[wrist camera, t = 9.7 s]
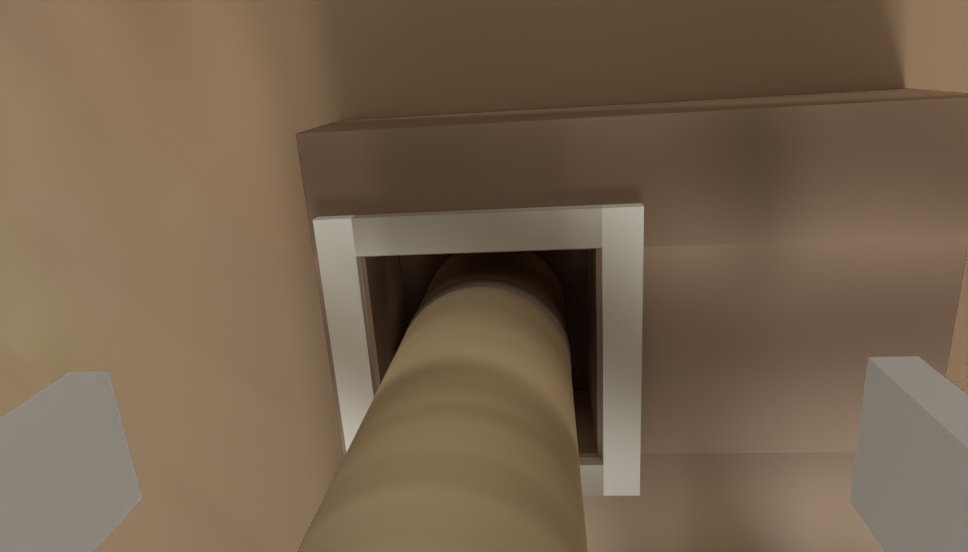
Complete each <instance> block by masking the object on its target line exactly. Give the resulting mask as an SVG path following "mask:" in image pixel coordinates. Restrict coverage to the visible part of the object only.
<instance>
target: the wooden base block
mask: <svg viewBox="0 0 968 552" xmlns="http://www.w3.org/2000/svg"><path fill="white" fill-rule="evenodd" d="M296 138H297V145H298V152H299V159H300V165H301V172H302V179H303V186H304V193H305V199H306V206H307V213H308V220H309V227H310V233H311V240H312V247H313V254H314V261H315V267H316V274H317V281H318V288H319V294H320V301H321V308H322V315H323V322H324V328H325V335H326V342H327V349H328V356H329V362H330V369H331V376H332V383H333V390H334V396H335V403H336V410H337V417H338V424H339V430H340V437H341V444H342V451H343V458H344V457H345V455H346V453H347V451H348V449H349V447H350V445H351V443H352V441H353V439H354V437H355V435H356V433H357V431H358V429H359V427H360V425H361V423H362V420H363V418H364V416H365V414H366V412H367V410H368V408H369V406H370V404H371V402H372V400H373V398H374V396H375V394H376V392H377V390H378V388H379V386H380V384H381V382H382V380H383V378H384V376H385V374H386V372H387V370H388V368H389V366H390V364H391V362H392V360H393V358H394V356H395V354H396V352H397V350H398V348H399V346H400V344H401V342H402V340H403V337H404V335H405V332H406V320H405V311H404V301H403V292H402V282H401V273H400V263H399V256H404V255H432V254H460V253H488V252H517V251H545V250H573V249H587V279H588V356H589V390H573V398H574V409H575V420H576V430H577V441H578V452H579V463H580V474H581V485H582V496H583V507H584V517H585V528H586V539H587V550H588V552H885V551H884V550H883V548H882V547H881V545H880V544H879V543H878V541H877V540H876V538H875V537H874V535H873V534H872V532H871V531H870V530H869V528H868V527H867V525H866V524H865V522H864V521H863V520H862V518H861V517H860V515H859V514H858V512H857V511H856V509H855V508H854V507H853V505H852V504H851V502H850V493H851V486H852V478H853V470H854V463H855V455H856V447H857V440H858V432H859V424H860V417H861V409H862V401H863V394H864V386H865V378H866V371H867V363H868V357H905V356H919V357H920V358H921V359H922V360H924V361H925V362H926V363H928V364H929V365H930V366H931V367H933V368H934V369H935V370H936V371H938V372H939V373H940V374H941V375H943V376H944V377H945V376H946V371H947V365H948V359H949V353H950V348H951V342H952V336H953V330H954V324H955V319H956V313H957V307H958V301H959V295H960V290H961V284H962V278H963V272H964V267H965V261H966V255H967V249H968V93H957V92H945V91H933V90H921V89H908V88H904V89H887V90H869V91H851V92H834V93H816V94H798V95H781V96H763V97H745V98H728V99H710V100H693V101H675V102H657V103H640V104H622V105H604V106H587V107H569V108H551V109H534V110H516V111H499V112H481V113H463V114H446V115H428V116H410V117H393V118H375V119H357V120H340V121H337V122H333V123H330V124H327V125H323V126H320V127H317V128H314V129H310V130H307V131H304V132H301V133H297V134H296Z"/></svg>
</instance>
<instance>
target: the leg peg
mask: <svg viewBox="0 0 968 552" xmlns="http://www.w3.org/2000/svg"><path fill="white" fill-rule="evenodd" d="M571 367H572V366H571V355H570V345H569V341H568V333H567V322H566V311H565V300H564V294H563V290H562V287H561V285H560V282H559V280H558V278H557V276H556V275H555V273H554V272H553V270H552V269H551V268H550V266H549V265H548V264H547V263H546V262H545V261H544V260H543V259H542V258H540V257H539V256H538V255H536V254H535V253H533V252H532V251H517V252H488V253H460V254H453V255H452V256H451V257H449V258H448V259H447V260H446V261H445V262H444V263H443V264H442V266H441V267H440V268H439V269H438V271H437V273H436V274H435V276H434V278H433V280H432V282H431V284H430V286H429V288H428V290H427V292H426V294H425V296H424V298H423V300H422V302H421V304H420V306H419V308H418V310H417V312H416V313H415V315H414V317H413V318H412V320H411V322H410V324H409V326H408V328H407V330H406V332H405V335H404V337H403V340H402V342H401V344H400V346H399V348H398V350H397V352H396V354H395V356H394V358H393V360H392V362H391V364H390V366H389V368H388V370H387V372H386V374H385V376H384V378H383V380H382V382H381V384H380V386H379V388H378V390H377V392H376V394H375V396H374V398H373V400H372V402H371V404H370V406H369V408H368V410H367V412H366V414H365V416H364V418H363V420H362V423H361V425H360V427H359V429H358V431H357V433H356V435H355V437H354V439H353V441H352V443H351V445H350V447H349V449H348V451H347V453H346V455H345V457H344V459H343V461H342V463H341V465H340V467H339V469H338V471H337V473H336V475H335V477H334V479H333V481H332V483H331V485H330V487H329V489H328V491H327V493H326V495H325V497H324V499H323V501H322V503H321V505H320V507H319V509H318V511H317V513H316V515H315V517H314V519H313V521H312V523H311V525H310V527H309V529H308V531H307V533H306V535H305V537H304V539H303V541H302V543H301V545H300V547H299V549H298V551H297V552H588V550H587V539H586V528H585V517H584V507H583V496H582V485H581V474H580V463H579V452H578V441H577V430H576V420H575V409H574V398H573V387H572V376H571Z"/></svg>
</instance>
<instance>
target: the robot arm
mask: <svg viewBox="0 0 968 552" xmlns="http://www.w3.org/2000/svg"><path fill="white" fill-rule="evenodd" d="M141 500H142V496H141V492H140V489H139V485H138V481H137V477H136V473H135V469H134V466H133V462H132V458H131V454H130V450H129V447H128V443H127V439H126V435H125V431H124V427H123V424H122V420H121V416H120V412H119V408H118V404H117V401H116V397H115V393H114V389H113V385H112V382H111V378H110V374H109V371H85V372H68V373H67V374H65V375H64V376H62V377H61V378H59V379H58V380H56V381H55V382H53V383H52V384H50V385H49V386H47V387H46V388H44V389H43V390H41V391H40V392H38V393H37V394H35V395H34V396H32V397H31V398H29V399H28V400H26V401H25V402H23V403H21V404H20V405H18V406H17V407H15V408H14V409H12V410H11V411H9V412H8V413H6V414H5V415H3V416H2V417H0V552H95V550H96V549H97V548H98V547H99V546H100V545H101V544H102V543H103V542H104V541H105V539H106V538H107V537H108V536H109V535H110V534H111V533H112V532H113V531H114V530H115V528H116V527H117V526H118V525H119V524H120V523H121V522H122V521H123V520H124V519H125V518H126V516H127V515H128V514H129V513H130V512H131V511H132V510H133V509H134V508H135V507H136V505H137V504H138V503H139V502H140V501H141ZM850 502H851V504H852V505H853V507H854V508H855V509H856V511H857V512H858V514H859V515H860V517H861V518H862V520H863V521H864V522H865V524H866V525H867V527H868V528H869V530H870V531H871V532H872V534H873V535H874V537H875V538H876V540H877V541H878V543H879V544H880V545H881V547H882V548H883V550H884V551H885V552H968V395H967V394H966V393H964V392H963V391H962V390H960V389H959V388H958V387H957V386H955V385H954V384H953V383H952V382H950V381H949V380H948V379H947V378H945V377H944V376H943V375H941V374H940V373H939V372H938V371H936V370H935V369H934V368H933V367H931V366H930V365H929V364H928V363H926V362H925V361H924V360H922V359H921V358H920V357H919V356H905V357H868V363H867V371H866V378H865V386H864V394H863V401H862V409H861V417H860V424H859V432H858V440H857V447H856V455H855V463H854V470H853V478H852V486H851V493H850Z"/></svg>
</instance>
